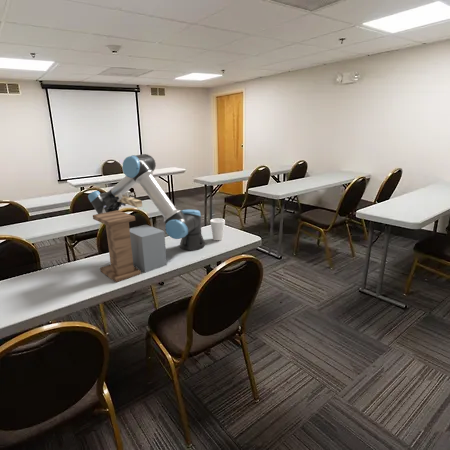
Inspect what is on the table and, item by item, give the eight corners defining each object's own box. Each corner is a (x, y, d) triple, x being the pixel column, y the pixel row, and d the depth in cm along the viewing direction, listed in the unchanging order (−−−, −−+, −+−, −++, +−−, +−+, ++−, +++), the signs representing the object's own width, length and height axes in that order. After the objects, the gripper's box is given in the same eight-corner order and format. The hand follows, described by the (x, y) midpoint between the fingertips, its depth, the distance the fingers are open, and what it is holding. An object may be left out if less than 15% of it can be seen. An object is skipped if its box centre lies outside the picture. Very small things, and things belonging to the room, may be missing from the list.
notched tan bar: (142, 206, 164) (141, 200, 163) (137, 207, 162) (136, 201, 161) (121, 199, 181) (120, 194, 180) (116, 200, 179) (115, 195, 178)
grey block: (166, 265, 169) (164, 231, 164) (145, 272, 161) (141, 237, 155) (149, 256, 182) (146, 224, 176) (128, 262, 173) (124, 229, 168)
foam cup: (217, 242, 201) (216, 223, 198) (207, 239, 208) (207, 220, 204) (228, 239, 207) (227, 220, 204) (219, 236, 214) (218, 217, 210)
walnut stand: (140, 274, 159) (134, 216, 151) (116, 282, 151) (108, 222, 142) (124, 263, 172) (117, 210, 163) (100, 271, 163) (92, 215, 154)
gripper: (125, 212, 195) (140, 198, 178) (99, 217, 185) (112, 203, 167) (121, 201, 196) (135, 186, 178) (95, 205, 185) (108, 190, 168)
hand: (124, 194), depth 173 cm, fingers closed on notched tan bar, 3 cm apart
